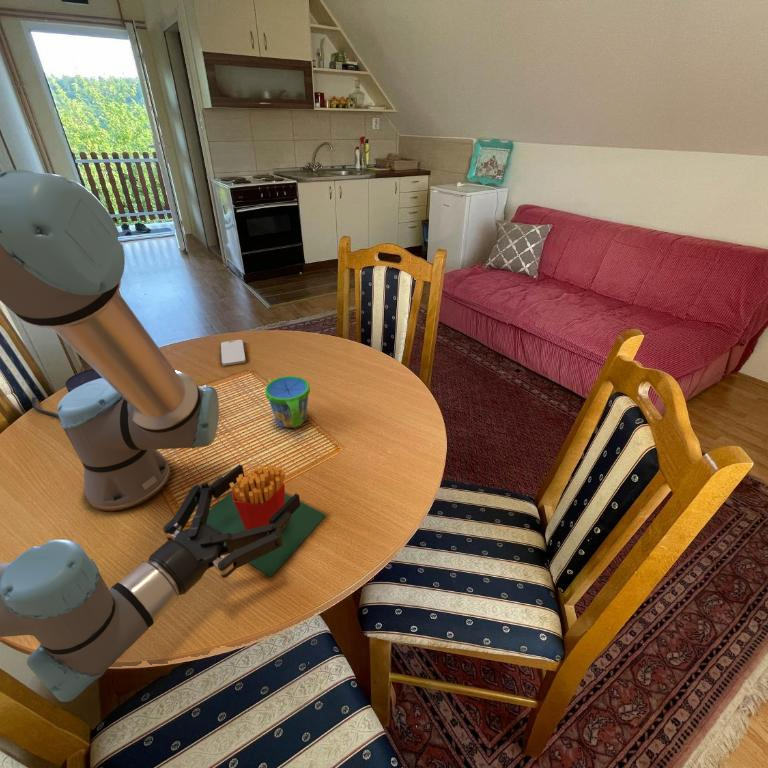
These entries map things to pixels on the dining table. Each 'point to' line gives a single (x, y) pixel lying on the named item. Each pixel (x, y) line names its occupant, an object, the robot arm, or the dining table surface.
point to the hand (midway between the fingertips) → (269, 484)
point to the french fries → (259, 495)
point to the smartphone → (232, 352)
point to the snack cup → (288, 400)
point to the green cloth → (292, 534)
